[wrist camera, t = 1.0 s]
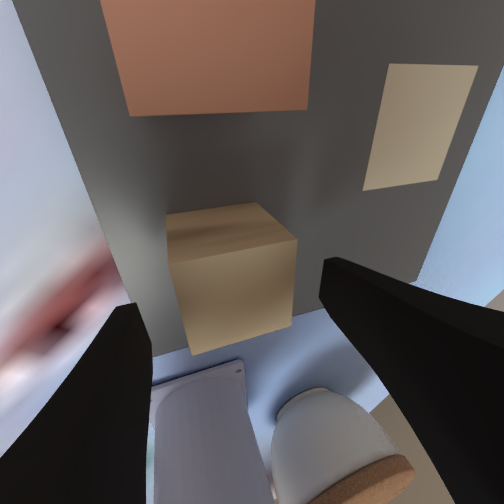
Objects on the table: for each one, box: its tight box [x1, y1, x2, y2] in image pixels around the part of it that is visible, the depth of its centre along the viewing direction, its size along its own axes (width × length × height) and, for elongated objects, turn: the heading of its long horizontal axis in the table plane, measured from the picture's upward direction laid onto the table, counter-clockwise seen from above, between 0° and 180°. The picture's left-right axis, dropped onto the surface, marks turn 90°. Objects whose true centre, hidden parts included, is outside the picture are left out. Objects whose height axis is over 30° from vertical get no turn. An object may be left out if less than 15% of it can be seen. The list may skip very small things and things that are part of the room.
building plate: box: [12, 0, 504, 357], centre depth 14 cm, size 18×22×1 cm
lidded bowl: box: [271, 387, 415, 504], centre depth 23 cm, size 13×13×11 cm
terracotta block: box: [100, 0, 315, 116], centre depth 7 cm, size 4×4×4 cm
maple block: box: [166, 202, 298, 356], centre depth 11 cm, size 4×4×4 cm
